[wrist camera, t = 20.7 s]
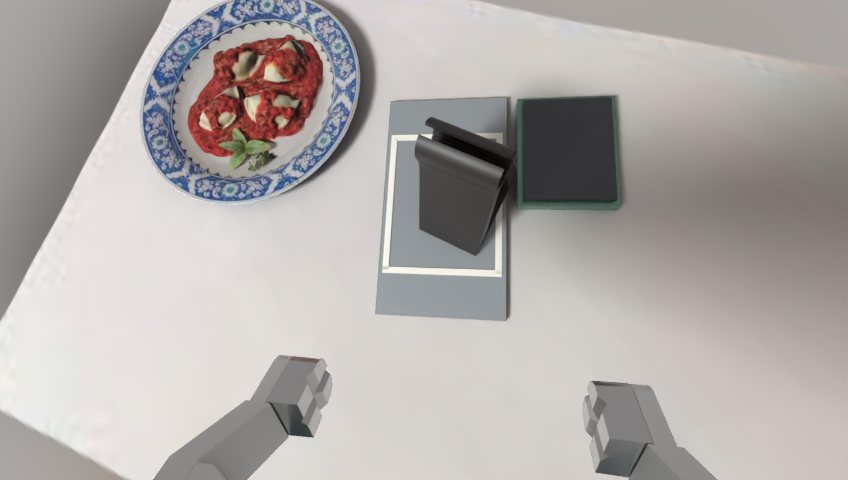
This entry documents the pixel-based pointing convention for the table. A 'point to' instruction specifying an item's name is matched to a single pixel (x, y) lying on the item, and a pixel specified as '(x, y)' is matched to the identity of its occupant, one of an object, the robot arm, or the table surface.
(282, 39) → the ceramic plate
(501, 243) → the marked board
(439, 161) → the phone stand
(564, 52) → the table surface
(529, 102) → the ink pad
